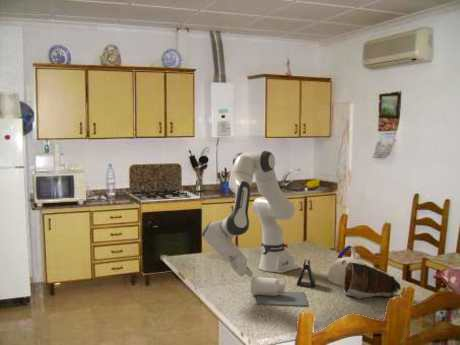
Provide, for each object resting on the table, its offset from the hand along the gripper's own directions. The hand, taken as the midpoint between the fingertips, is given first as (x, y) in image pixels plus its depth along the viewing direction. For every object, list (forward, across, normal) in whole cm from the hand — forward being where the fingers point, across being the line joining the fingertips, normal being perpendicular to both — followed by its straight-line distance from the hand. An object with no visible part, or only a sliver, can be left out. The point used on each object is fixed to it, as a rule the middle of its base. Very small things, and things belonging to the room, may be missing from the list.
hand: (251, 275), depth 208 cm
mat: (+17, 0, -2) cm, 17 cm away
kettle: (+43, +30, -28) cm, 59 cm away
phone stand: (+27, +21, -12) cm, 36 cm away
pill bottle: (+4, +4, +4) cm, 7 cm away
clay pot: (+47, +8, -32) cm, 58 cm away
